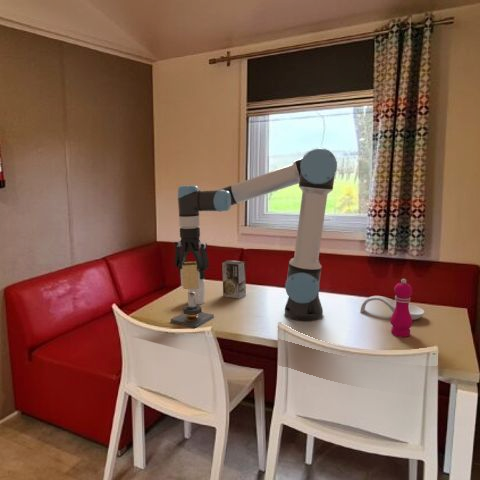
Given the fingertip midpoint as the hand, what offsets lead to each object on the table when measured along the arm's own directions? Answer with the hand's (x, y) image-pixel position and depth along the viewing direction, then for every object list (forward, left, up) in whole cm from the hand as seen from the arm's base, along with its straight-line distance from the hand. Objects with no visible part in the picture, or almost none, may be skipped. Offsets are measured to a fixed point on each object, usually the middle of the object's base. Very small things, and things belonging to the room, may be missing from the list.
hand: (192, 285), depth 154 cm
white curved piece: (-67, -41, -14) cm, 80 cm away
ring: (0, 0, -10) cm, 11 cm away
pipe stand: (0, 0, -14) cm, 14 cm away
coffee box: (+1, -34, -14) cm, 37 cm away
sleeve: (0, 0, 0) cm, 0 cm away
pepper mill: (-73, -24, -14) cm, 78 cm away
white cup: (+11, -18, -14) cm, 25 cm away
